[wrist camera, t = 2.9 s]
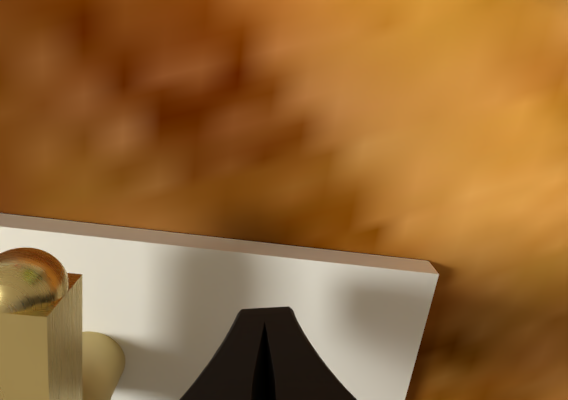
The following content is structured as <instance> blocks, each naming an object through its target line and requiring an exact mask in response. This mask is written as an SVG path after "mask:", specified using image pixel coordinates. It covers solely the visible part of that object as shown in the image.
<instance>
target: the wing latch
mask: <svg viewBox="0 0 568 400" xmlns="http://www.w3.org/2000/svg"><path fill="white" fill-rule="evenodd" d="M0 400H82V274H75V273H67V272H66V270H65V268H64V266H63V265H62V263H61V262H60V261H59V260H58V259H57V258H56V257H54V256H53V255H51V254H50V253H48V252H46V251H43V250H40V249H36V248H26V247H23V248H15V249H10V250H7V251H5V252H2V253H0Z"/></svg>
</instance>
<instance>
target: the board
mask: <svg viewBox="0 0 568 400" xmlns="http://www.w3.org/2000/svg"><path fill="white" fill-rule="evenodd" d="M23 247H26V248H36V249H40V250H43V251H46V252H48V253H50V254H51V255H53V256H54V257H56V258H57V259H58V260H59V261H60V262H61V263H62V265H63V266H64V268H65V270H66V272H67V273H75V274H82V400H179V399H180V398H181V397H182V396H183V395H184V394H185V392H186V391H187V390H188V389H189V388H190V386H191V385H192V384H193V383H194V382H195V380H196V379H197V378H198V376H199V375H200V374H201V372H202V371H203V370H204V368H205V367H206V366H207V364H208V363H209V361H210V360H211V359H212V357H213V356H214V354H215V353H216V351H217V349H218V348H219V346H220V345H221V343H222V342H223V340H224V338H225V337H226V335H227V333H228V332H229V330H230V328H231V326H232V324H233V322H234V320H235V318H236V316H237V314H238V312H239V311H240V310H241V309H251V308H269V307H288V306H289V307H290V308H291V309H292V310H293V311H294V314H295V316H296V319H297V321H298V323H299V325H300V327H301V328H302V330H303V332H304V334H305V335H306V337H307V338H308V340H309V342H310V343H311V345H312V346H313V347H314V349H315V350H316V352H317V353H318V355H319V356H320V357H321V359H322V360H323V361H324V363H325V364H326V365H327V367H328V368H329V369H330V370H331V372H332V373H333V374H334V375H335V376H336V378H337V379H338V380H339V381H340V382H341V383H342V384H343V386H344V387H345V388H346V389H347V390H348V391H349V392H350V393H351V394H352V395H353V396H354V397H355V398H356V399H357V400H405V397H406V394H407V390H408V386H409V383H410V379H411V375H412V372H413V368H414V364H415V361H416V357H417V353H418V350H419V346H420V342H421V339H422V335H423V331H424V328H425V324H426V320H427V317H428V313H429V309H430V306H431V302H432V298H433V295H434V291H435V287H436V284H437V280H438V276H439V274H438V272H437V271H436V270H435V268H434V267H433V266H432V265H431V263H430V262H429V261H426V260H417V259H408V258H399V257H390V256H381V255H372V254H363V253H354V252H345V251H336V250H327V249H318V248H309V247H300V246H291V245H282V244H273V243H264V242H255V241H246V240H237V239H228V238H219V237H210V236H201V235H192V234H183V233H174V232H165V231H156V230H147V229H138V228H129V227H120V226H112V225H103V224H94V223H85V222H76V221H67V220H58V219H49V218H40V217H31V216H22V215H13V214H4V213H0V253H2V252H5V251H7V250H10V249H15V248H23Z"/></svg>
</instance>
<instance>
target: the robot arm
mask: <svg viewBox="0 0 568 400" xmlns="http://www.w3.org/2000/svg"><path fill="white" fill-rule="evenodd" d="M179 400H357V399H356V398H355V397H354V396H353V395H352V394H351V393H350V392H349V391H348V390H347V389H346V388H345V387H344V386H343V384H342V383H341V382H340V381H339V380H338V379H337V378H336V376H335V375H334V374H333V373H332V372H331V370H330V369H329V368H328V367H327V365H326V364H325V363H324V361H323V360H322V359H321V357H320V356H319V355H318V353H317V352H316V350H315V349H314V347H313V346H312V345H311V343H310V342H309V340H308V338H307V337H306V335H305V334H304V332H303V330H302V328H301V327H300V325H299V323H298V321H297V319H296V316H295V314H294V311H293V310H292V309H291V308H290V307H289V306H288V307H269V308H251V309H241V310H240V311H239V312H238V314H237V316H236V318H235V320H234V322H233V324H232V326H231V328H230V330H229V332H228V333H227V335H226V337H225V338H224V340H223V342H222V343H221V345H220V346H219V348H218V349H217V351H216V353H215V354H214V356H213V357H212V359H211V360H210V361H209V363H208V364H207V366H206V367H205V368H204V370H203V371H202V372H201V374H200V375H199V376H198V378H197V379H196V380H195V382H194V383H193V384H192V385H191V386H190V388H189V389H188V390H187V391H186V392H185V394H184V395H183V396H182V397H181V398H180V399H179Z"/></svg>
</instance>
